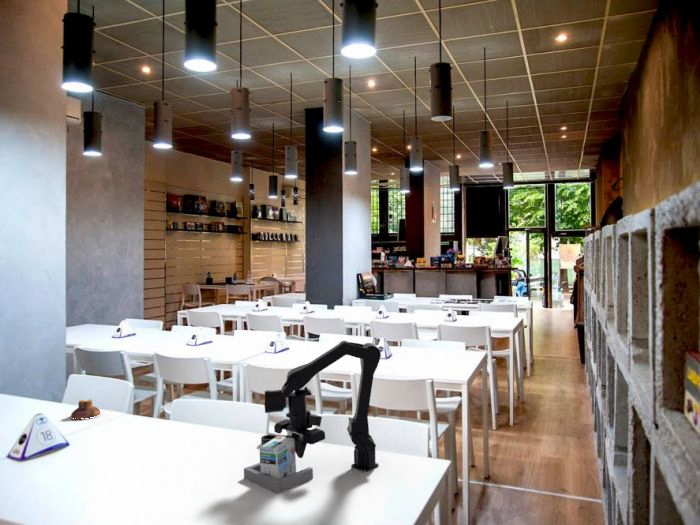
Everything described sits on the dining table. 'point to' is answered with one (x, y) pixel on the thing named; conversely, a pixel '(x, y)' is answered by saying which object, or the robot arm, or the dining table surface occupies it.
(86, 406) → the brown fuzzy lump
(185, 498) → the dining table surface
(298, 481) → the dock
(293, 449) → the light bulb box
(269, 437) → the duct tape
